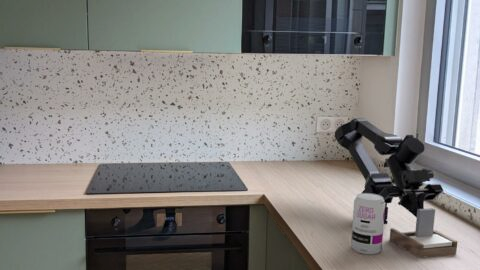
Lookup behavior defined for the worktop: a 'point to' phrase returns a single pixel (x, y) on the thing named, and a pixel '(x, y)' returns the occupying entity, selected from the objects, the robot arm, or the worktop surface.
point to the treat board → (417, 247)
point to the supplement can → (368, 223)
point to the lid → (428, 230)
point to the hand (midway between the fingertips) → (422, 219)
